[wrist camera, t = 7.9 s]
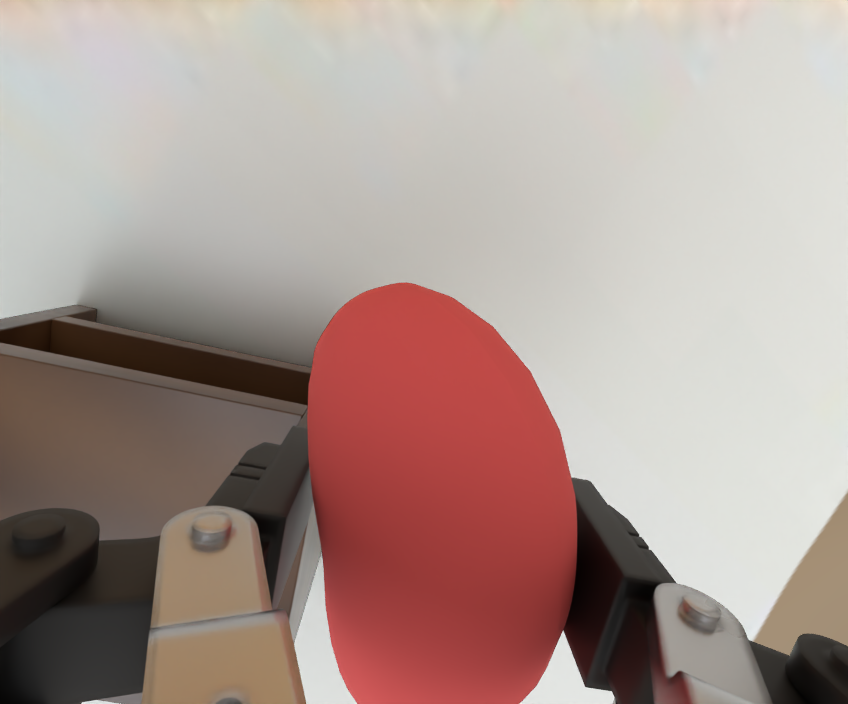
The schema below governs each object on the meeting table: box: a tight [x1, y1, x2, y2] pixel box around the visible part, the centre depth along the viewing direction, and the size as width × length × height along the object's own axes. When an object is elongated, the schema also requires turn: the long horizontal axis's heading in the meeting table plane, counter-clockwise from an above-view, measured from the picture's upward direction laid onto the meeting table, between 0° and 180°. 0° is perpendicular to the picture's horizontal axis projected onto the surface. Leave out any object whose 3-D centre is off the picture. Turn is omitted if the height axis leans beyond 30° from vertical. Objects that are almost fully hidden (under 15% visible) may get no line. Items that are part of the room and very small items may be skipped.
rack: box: [0, 305, 322, 704], centre depth 23 cm, size 13×16×11 cm
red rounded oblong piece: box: [307, 283, 577, 704], centre depth 10 cm, size 5×9×6 cm, turn 172°
